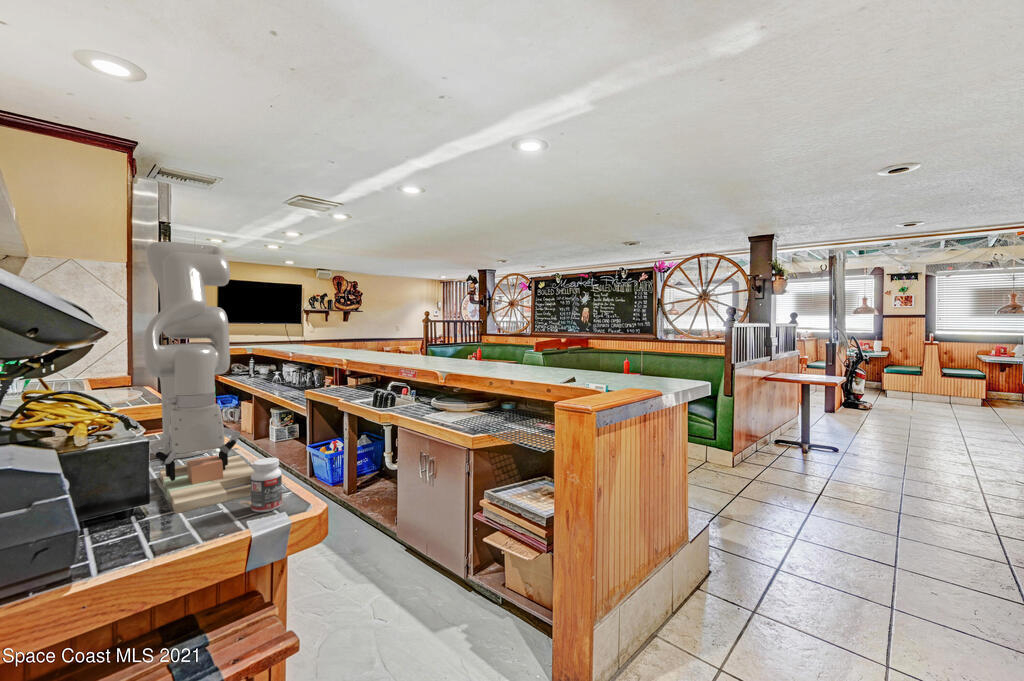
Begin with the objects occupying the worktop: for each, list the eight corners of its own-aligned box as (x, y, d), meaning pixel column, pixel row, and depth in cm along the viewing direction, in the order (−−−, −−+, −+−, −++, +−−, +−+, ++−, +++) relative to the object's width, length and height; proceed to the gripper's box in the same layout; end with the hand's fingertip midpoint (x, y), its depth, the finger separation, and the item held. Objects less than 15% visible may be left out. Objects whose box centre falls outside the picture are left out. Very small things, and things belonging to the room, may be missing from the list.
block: (187, 477, 106) (186, 461, 105) (217, 470, 110) (216, 454, 110) (192, 484, 101) (191, 467, 101) (223, 477, 106) (222, 460, 105)
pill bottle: (268, 514, 91) (267, 466, 91) (244, 511, 92) (243, 464, 92) (288, 503, 97) (287, 457, 96) (265, 500, 98) (264, 455, 97)
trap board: (159, 477, 111) (159, 469, 111) (238, 462, 122) (238, 455, 122) (175, 513, 91) (174, 504, 91) (267, 491, 103) (267, 483, 103)
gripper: (149, 408, 95) (152, 488, 96) (242, 398, 107) (244, 469, 108) (145, 403, 100) (148, 478, 101) (234, 394, 112) (236, 461, 113)
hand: (198, 473), depth 104 cm, fingers open, 9 cm apart
